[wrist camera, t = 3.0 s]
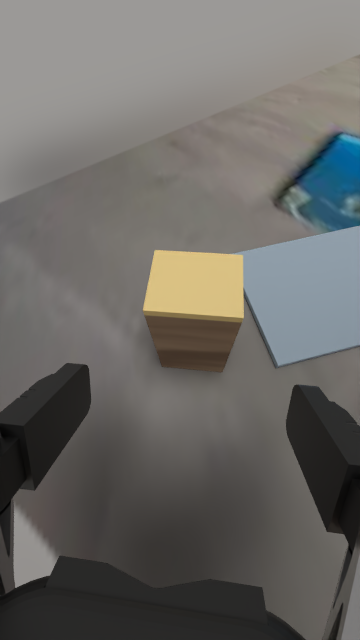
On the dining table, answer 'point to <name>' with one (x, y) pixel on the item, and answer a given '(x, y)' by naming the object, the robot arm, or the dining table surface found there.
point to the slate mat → (306, 295)
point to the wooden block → (194, 308)
